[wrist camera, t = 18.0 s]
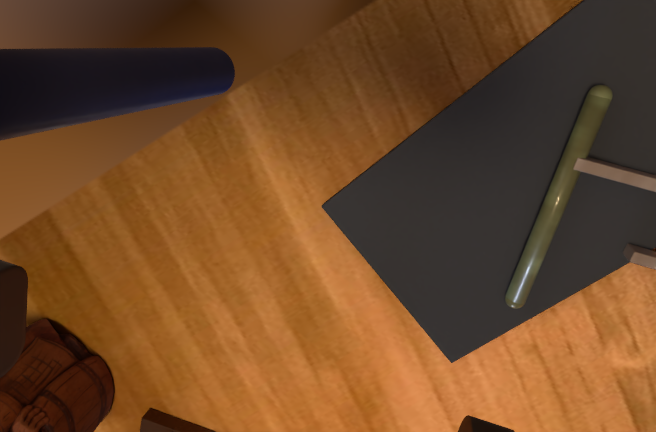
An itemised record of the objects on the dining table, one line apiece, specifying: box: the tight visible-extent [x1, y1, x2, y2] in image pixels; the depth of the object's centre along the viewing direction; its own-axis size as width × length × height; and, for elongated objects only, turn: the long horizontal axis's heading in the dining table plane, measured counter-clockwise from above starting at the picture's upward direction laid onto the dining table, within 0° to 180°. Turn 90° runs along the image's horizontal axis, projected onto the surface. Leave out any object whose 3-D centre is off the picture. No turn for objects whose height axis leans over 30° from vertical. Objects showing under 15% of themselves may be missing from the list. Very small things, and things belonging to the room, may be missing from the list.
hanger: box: [505, 85, 656, 309], centre depth 34 cm, size 16×2×14 cm
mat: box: [322, 0, 656, 363], centre depth 36 cm, size 26×16×1 cm, turn 131°
